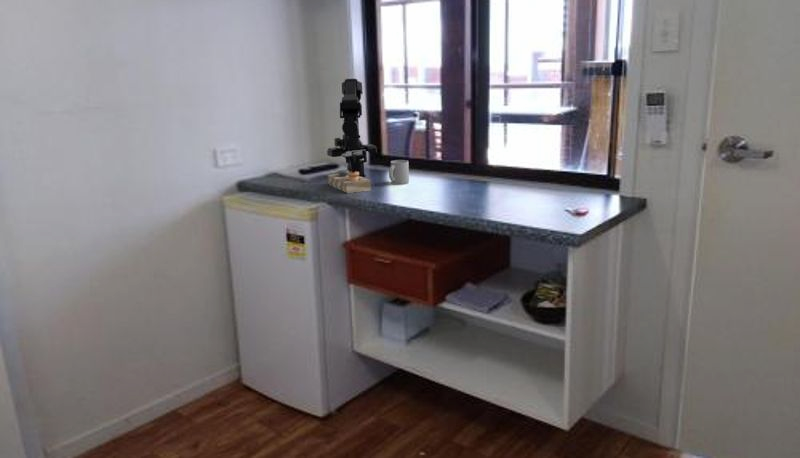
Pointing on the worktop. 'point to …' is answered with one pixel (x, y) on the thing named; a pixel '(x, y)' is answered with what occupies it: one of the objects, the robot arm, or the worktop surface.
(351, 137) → the robot arm
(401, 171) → the cup
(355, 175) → the mushroom knob terracotta
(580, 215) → the worktop surface
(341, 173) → the grey mushroom knob
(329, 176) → the housing
